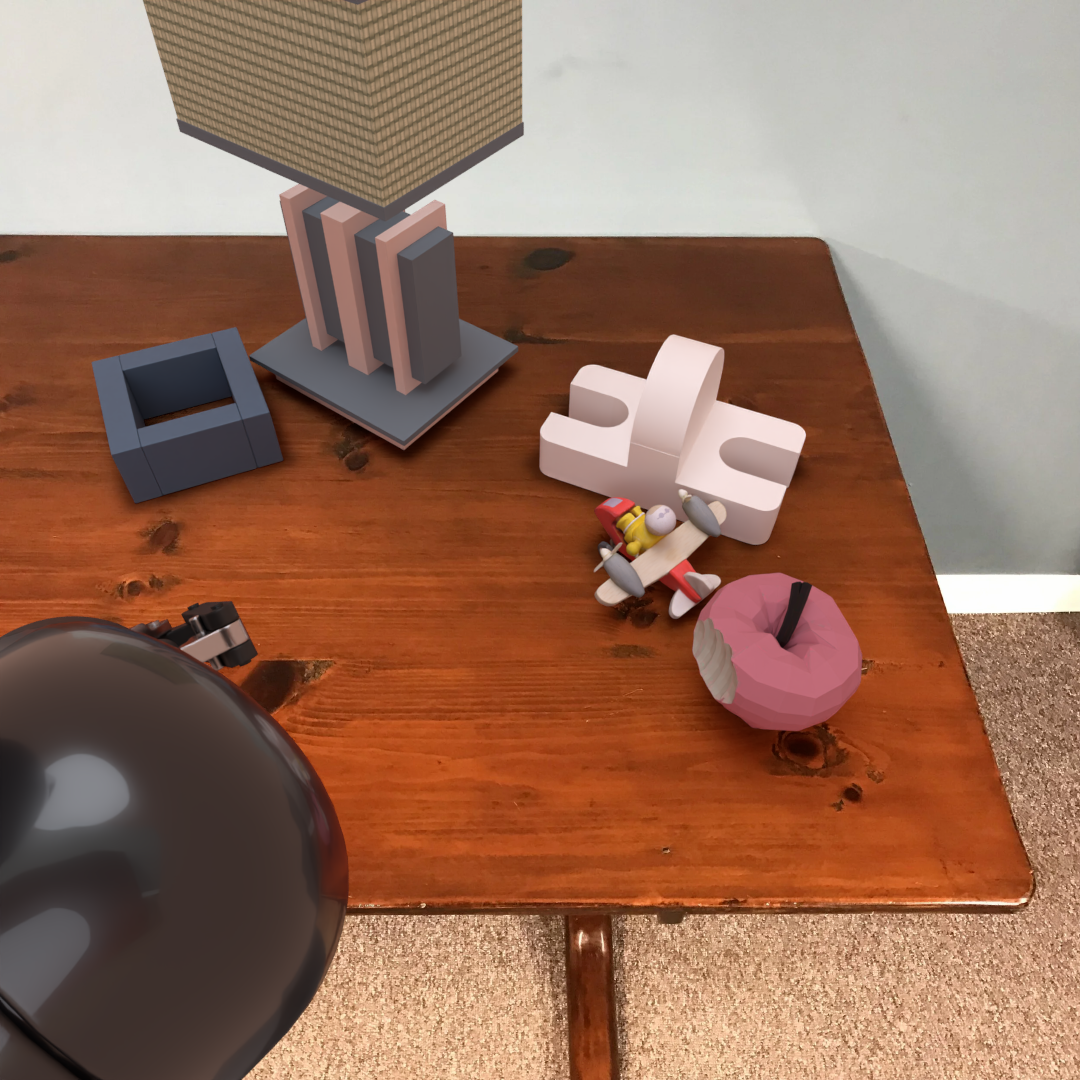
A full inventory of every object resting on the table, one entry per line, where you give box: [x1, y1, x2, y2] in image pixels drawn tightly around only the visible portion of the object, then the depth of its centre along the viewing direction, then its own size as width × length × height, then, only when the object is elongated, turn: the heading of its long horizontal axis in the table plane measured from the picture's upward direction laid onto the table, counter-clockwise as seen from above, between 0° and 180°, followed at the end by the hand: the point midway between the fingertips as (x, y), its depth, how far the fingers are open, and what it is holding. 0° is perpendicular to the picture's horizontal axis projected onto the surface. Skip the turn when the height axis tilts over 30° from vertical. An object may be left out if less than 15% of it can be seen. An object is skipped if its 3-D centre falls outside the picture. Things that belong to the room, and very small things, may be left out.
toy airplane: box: [593, 489, 727, 620], centre depth 59 cm, size 9×9×6 cm
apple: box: [692, 572, 863, 732], centre depth 52 cm, size 10×9×10 cm
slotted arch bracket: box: [539, 333, 807, 546], centre depth 64 cm, size 10×18×11 cm, turn 66°
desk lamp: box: [142, 0, 525, 451], centre depth 63 cm, size 18×14×33 cm
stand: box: [91, 326, 284, 504], centre depth 68 cm, size 11×11×5 cm
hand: (86, 676), depth 43 cm, fingers closed on supplement bottle, 6 cm apart
